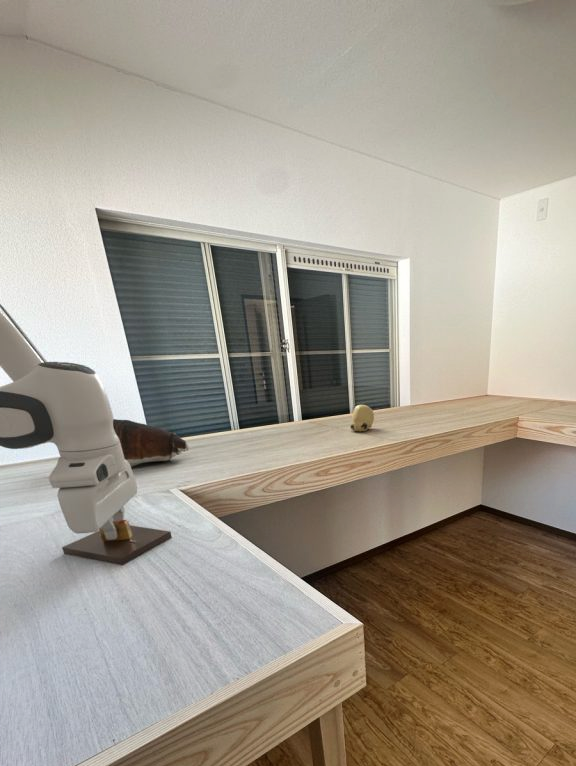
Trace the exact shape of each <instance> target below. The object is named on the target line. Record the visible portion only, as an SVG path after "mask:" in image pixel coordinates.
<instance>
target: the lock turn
mask: <svg viewBox="0 0 576 766" xmlns="http://www.w3.org/2000/svg"><path fill="white" fill-rule="evenodd" d="M112 523H113V524H114V526H115V527H118V530H119V533H120V534H119V536H118V537H117V538H116V539H114V540H107V539H106V537H105V534H104V531H103V530H102V529H101V528H100V529H99V530H98V531H100V534H101V537H102V541H103V542H105V541H115V540H126V539H130V538H131V537H132V532H131V529H130V525H131V524H130V522H129V520H127V519H124V520H120V521H117V522H112Z"/></svg>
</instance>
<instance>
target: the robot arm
mask: <svg viewBox="0 0 576 766" xmlns="http://www.w3.org/2000/svg"><path fill="white" fill-rule="evenodd" d="M0 368H1V369H2V370H3V371H4V372H5V373H6V375H7V376H8V377H9V378H10V380H12V382H10V383H7V384H4V385H2V386H0V447H2V448H5V449H10V450H22V449H23V450H24V449H30V448H31V449H32V448H34V447H38V446H40V445H44V444H47V443H51V444H54V445H55V446H56V448H57V451H58V454H59V457H58V459H57V463H56V465H55V467H54V468H53V470H52V471H51V472H50V474H49V476H48V479H49V484H50V486H51V487H52V488H53V489H58V491H57V500H58V503H59V506H60V509H61V512H62V515H63V517H64V520H65V522H66V525H67V527H68V528H69V530H70V531H71V532H73V533H74V534H77V535H78V534H88V533H89V534H92V533H95V532H97V531H99V529H100V528H101V529H102V530H103V531H104V534H105V537H106V539H107V540H114V539H116V538H117V537H118V536H119V534H120V533H119V530H118V527H115V526H114V524H113V523H112V522H117V521H120V520H125V507H124V506H125V505H127V503H129V502H130V500H131V499H132V498H134V497H135V496H136V495H137V494H138V484H137V481H136V477H135V474H134V472H133V469H132V466H130V464H129V462H128V461H127V460H125V458H124V455H123V451H122V447H121V443H120V440H119V438H118V436H117V435H116V433H115V431H114V428H113V419H114V415H113V411H112V407H111V403H110V400H109V398H108V395H107V392H106V389H105V387H104V385H103V382H102V380H101V378H100V376H99V375H98V374H97V372H96V371H95V370H94V369H92V368H90V367H89V366H86V365H84V364H79V363H74V362H68V361H67V362H66V361H64V362H62V361H61V362H60V361H47V359H46V358H45V357H44V356H43V355H42V353H41V352H40V351H39V349H38V348H37V346H35V344H34V343H33V341H32V340H31V339H30V338H29V337H28V335H27V334H26V333H25V332H24V330H23V329H22V328H21V327H20V325H19V324H18V323H17V322H16V320H15V319H14V318H13V316H11V314H10V313H9V312H8V311H7V310H6V308H5V307H4V306H3V305H2V304H1V303H0Z"/></svg>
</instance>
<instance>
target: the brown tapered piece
mask: <svg viewBox="0 0 576 766" xmlns="http://www.w3.org/2000/svg"><path fill="white" fill-rule="evenodd" d="M113 428H114V431H115V433H116V435H117V436H118V438H119V440H120V443H121V447H122V451H123V455H124V458H125V460H127V461H128V462H129V464H130V466H131V467H134V466H137V465H139V464H143V463H151V462H167V461H171V459H173V457H174V458H175V457H176V456H178V455H181V454H182V452H187V451H189V449H190V447H189V443H188V442H187V441H186V440H185V439H183V438H182V437H180V436H179V435H177V433H176V432H171V431H168V430H165V429H163V428H160V427H156V426H151V425H148V424H146V423H141V422H136V421H133V420H130V419H116V418H113Z"/></svg>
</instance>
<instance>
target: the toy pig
mask: <svg viewBox="0 0 576 766" xmlns="http://www.w3.org/2000/svg"><path fill="white" fill-rule="evenodd" d="M351 415H352V416H351V424H350V429H351V430H352V431H354V432H359V433H361V432H362V431H363V432H366V431H367V430H368V429H370V428H372V427H373V423H374V420H375V414H374V411H373V409H372V408H371V407H370V406H368V405H365V404H357V405H355V407H354V409H353V411H352V414H351Z"/></svg>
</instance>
